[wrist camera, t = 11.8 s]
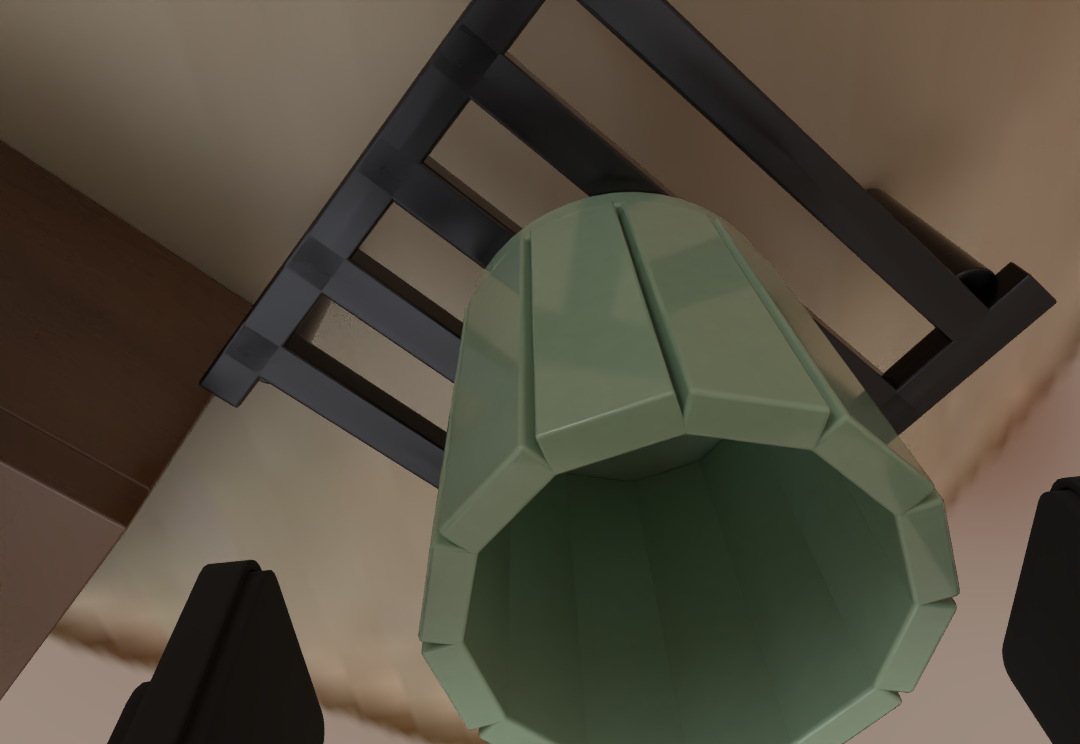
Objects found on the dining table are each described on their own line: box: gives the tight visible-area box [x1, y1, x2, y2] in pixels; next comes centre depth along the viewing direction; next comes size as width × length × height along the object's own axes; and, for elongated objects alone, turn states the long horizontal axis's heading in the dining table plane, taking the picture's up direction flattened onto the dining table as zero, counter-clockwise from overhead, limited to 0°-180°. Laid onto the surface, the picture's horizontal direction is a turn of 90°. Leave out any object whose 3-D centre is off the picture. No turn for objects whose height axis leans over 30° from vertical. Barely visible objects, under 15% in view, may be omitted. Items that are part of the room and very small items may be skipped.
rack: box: [199, 0, 1056, 489], centre depth 21 cm, size 13×13×7 cm
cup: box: [418, 192, 960, 744], centre depth 14 cm, size 7×7×8 cm
